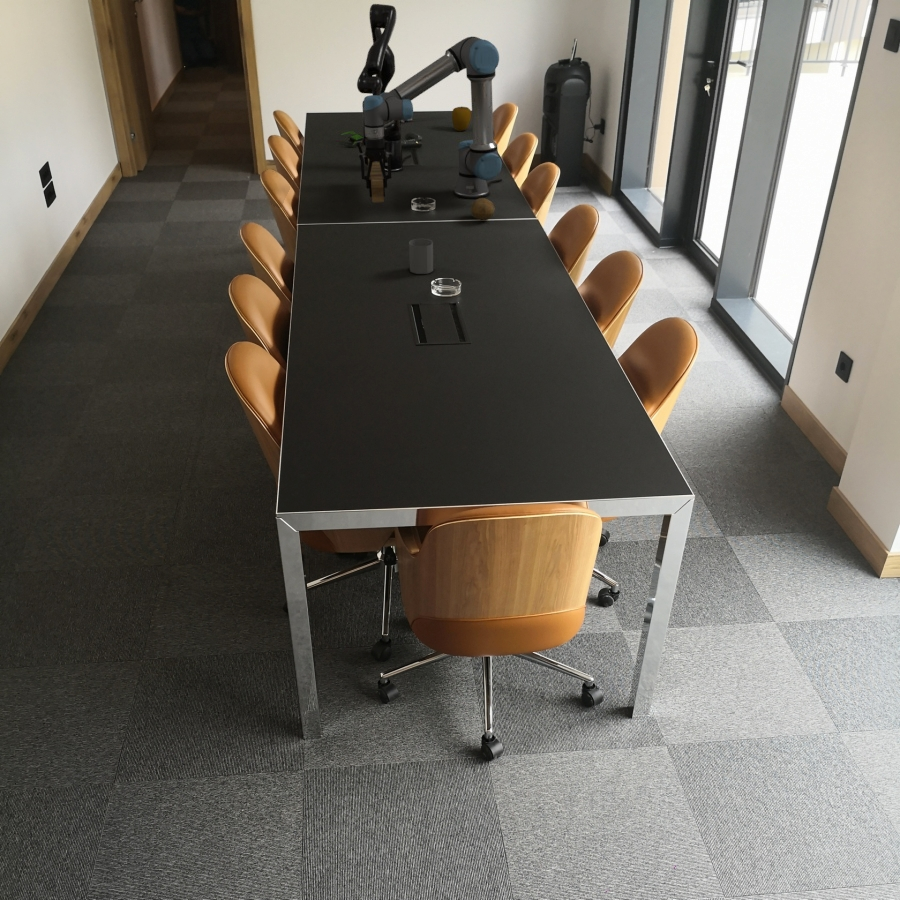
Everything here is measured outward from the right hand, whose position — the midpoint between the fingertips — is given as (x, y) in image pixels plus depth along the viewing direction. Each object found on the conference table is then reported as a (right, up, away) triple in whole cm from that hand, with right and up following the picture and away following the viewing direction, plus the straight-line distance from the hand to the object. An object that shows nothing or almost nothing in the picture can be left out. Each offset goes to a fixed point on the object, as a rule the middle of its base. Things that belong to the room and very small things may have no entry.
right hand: (377, 195), depth 358 cm
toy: (-1, +86, +149) cm, 172 cm away
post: (-2, +9, +16) cm, 19 cm away
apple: (+37, +76, +132) cm, 157 cm away
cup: (+20, -41, -50) cm, 68 cm away
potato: (+43, -10, -2) cm, 45 cm away
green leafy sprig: (-14, +58, +105) cm, 120 cm away
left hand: (-4, +22, +29) cm, 37 cm away
